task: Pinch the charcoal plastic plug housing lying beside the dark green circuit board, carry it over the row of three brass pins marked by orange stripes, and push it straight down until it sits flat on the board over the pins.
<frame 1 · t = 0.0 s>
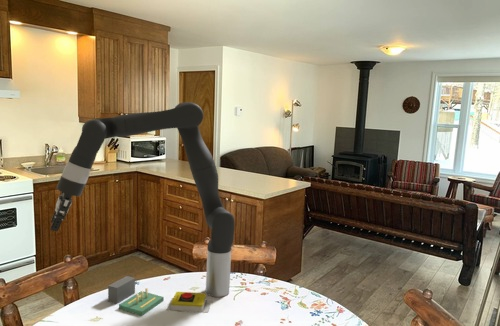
hand: (53, 226, 117), 31 cm above the table, tool tilted 20°, fingers open, 8 cm apart
plug housing: (121, 297, 139), on the table
emergency button: (189, 306, 136), on the table
header board: (141, 304, 134), on the table
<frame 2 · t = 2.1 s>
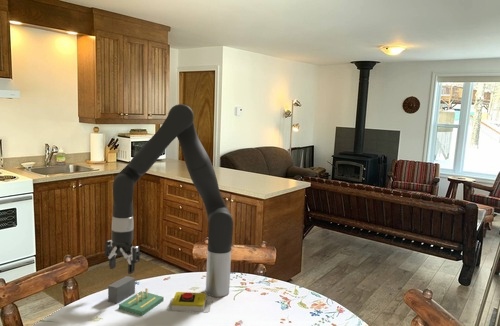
hand: (121, 270, 138), 10 cm above the table, tool pointing down, fingers open, 8 cm apart
nothing on the table moved.
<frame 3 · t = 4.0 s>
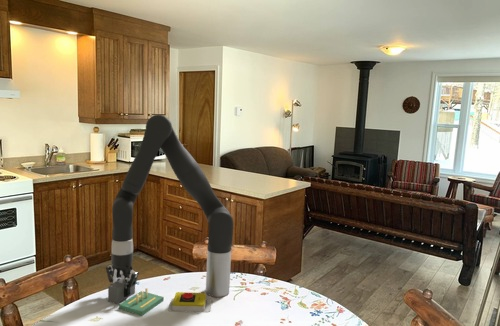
hand: (121, 294, 139), 1 cm above the table, tool pointing down, fingers closed on plug housing, 4 cm apart
plug housing: (121, 297, 139), on the table, touching gripper
everything else where it was.
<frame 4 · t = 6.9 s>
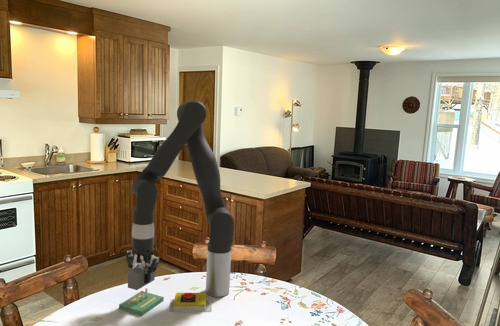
hand: (141, 281, 133), 9 cm above the table, tool pointing down, fingers closed on plug housing, 4 cm apart
plug housing: (141, 283, 133), point 8 cm above the table, touching gripper
everything else where it was.
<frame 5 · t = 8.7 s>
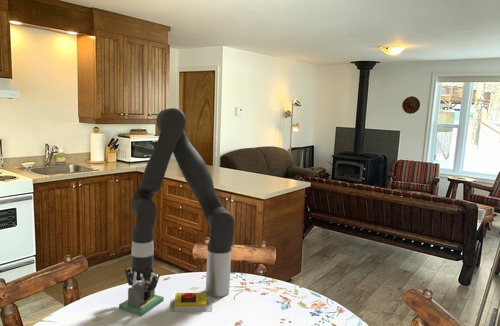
hand: (141, 298, 134), 2 cm above the table, tool pointing down, fingers closed on plug housing, 4 cm apart
plug housing: (141, 300, 134), point 2 cm above the table, touching gripper, header board
everything else where it was.
when the fingers open (2 cm above the table, at t = 9.7 s): plug housing stays where it is, resting on header board.
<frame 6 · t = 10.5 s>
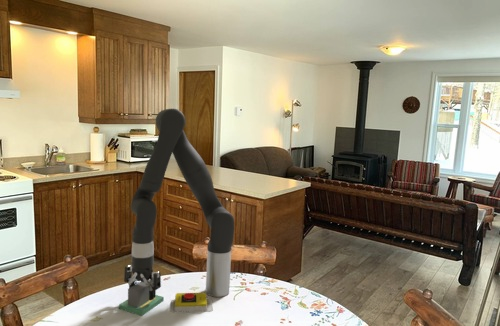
hand: (142, 296, 134), 3 cm above the table, tool pointing down, fingers open, 8 cm apart
plug housing: (141, 300, 134), point 1 cm above the table, touching header board
everything else where it was.
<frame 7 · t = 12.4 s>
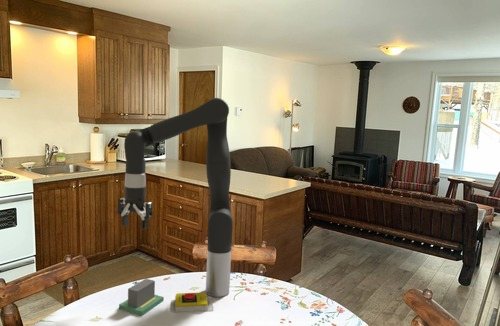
hand: (134, 227, 141), 25 cm above the table, tool pointing down, fingers open, 8 cm apart
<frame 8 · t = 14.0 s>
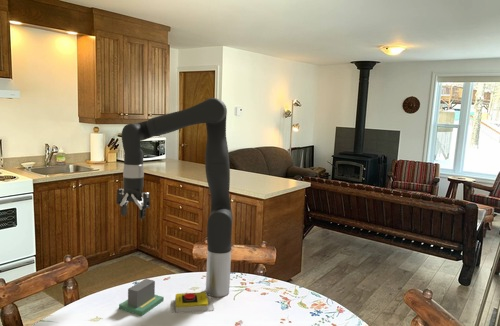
hand: (132, 216, 145), 28 cm above the table, tool pointing down, fingers open, 8 cm apart
at the end: plug housing 0.1 cm off-centre on the header board, point 1.5 cm above the header board's base; plug housing tilted 0°; the gripper is holding nothing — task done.
